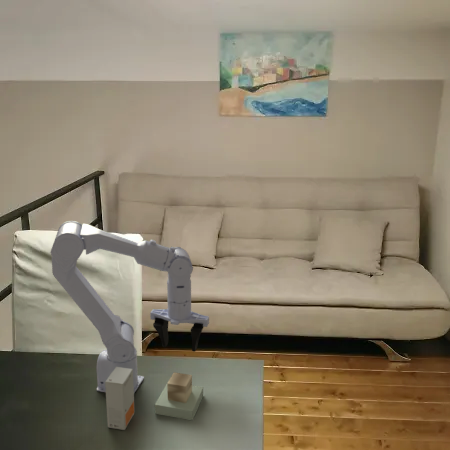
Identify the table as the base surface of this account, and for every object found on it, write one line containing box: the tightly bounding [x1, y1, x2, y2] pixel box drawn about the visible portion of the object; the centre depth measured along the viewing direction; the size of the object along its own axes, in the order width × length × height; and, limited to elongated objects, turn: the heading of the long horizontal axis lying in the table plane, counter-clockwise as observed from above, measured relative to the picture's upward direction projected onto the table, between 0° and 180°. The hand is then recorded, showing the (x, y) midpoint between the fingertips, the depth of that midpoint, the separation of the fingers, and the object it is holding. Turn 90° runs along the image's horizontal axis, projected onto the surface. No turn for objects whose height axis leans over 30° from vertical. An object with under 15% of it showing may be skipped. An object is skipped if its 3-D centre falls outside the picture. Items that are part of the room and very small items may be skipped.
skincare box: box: [105, 367, 135, 431], centre depth 112 cm, size 6×4×12 cm
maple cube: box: [166, 371, 193, 403], centre depth 118 cm, size 4×4×4 cm
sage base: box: [154, 383, 204, 421], centre depth 119 cm, size 9×9×2 cm
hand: (180, 347), depth 126 cm, fingers open, 7 cm apart
